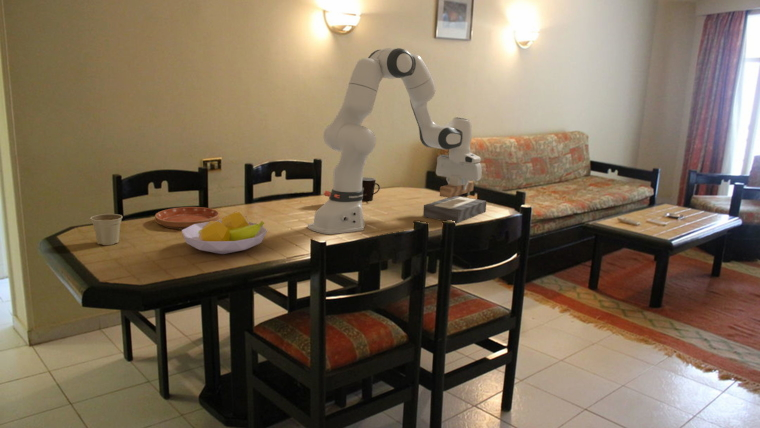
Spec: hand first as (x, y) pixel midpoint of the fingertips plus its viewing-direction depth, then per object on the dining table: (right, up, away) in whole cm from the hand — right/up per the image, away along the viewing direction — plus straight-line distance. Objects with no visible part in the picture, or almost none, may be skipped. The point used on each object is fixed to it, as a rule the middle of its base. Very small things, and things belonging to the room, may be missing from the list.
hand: (457, 188), depth 243 cm
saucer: (-106, -15, -29) cm, 111 cm away
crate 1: (-1, +1, -2) cm, 3 cm away
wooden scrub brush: (0, -2, +1) cm, 2 cm away
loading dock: (0, -11, +3) cm, 11 cm away
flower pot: (-122, -21, -59) cm, 137 cm away
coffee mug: (-39, -5, +23) cm, 46 cm away
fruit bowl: (-83, -22, -59) cm, 104 cm away
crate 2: (+1, +2, +1) cm, 3 cm away
